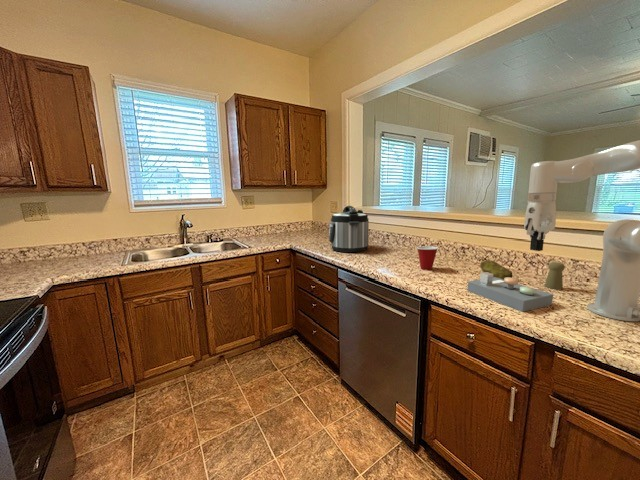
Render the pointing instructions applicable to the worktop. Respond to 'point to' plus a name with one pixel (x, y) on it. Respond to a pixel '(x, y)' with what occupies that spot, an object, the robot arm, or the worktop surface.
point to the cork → (555, 276)
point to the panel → (510, 295)
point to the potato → (495, 269)
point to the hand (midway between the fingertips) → (536, 250)
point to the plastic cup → (426, 256)
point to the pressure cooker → (349, 230)
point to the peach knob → (510, 282)
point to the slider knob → (486, 278)
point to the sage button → (527, 291)
